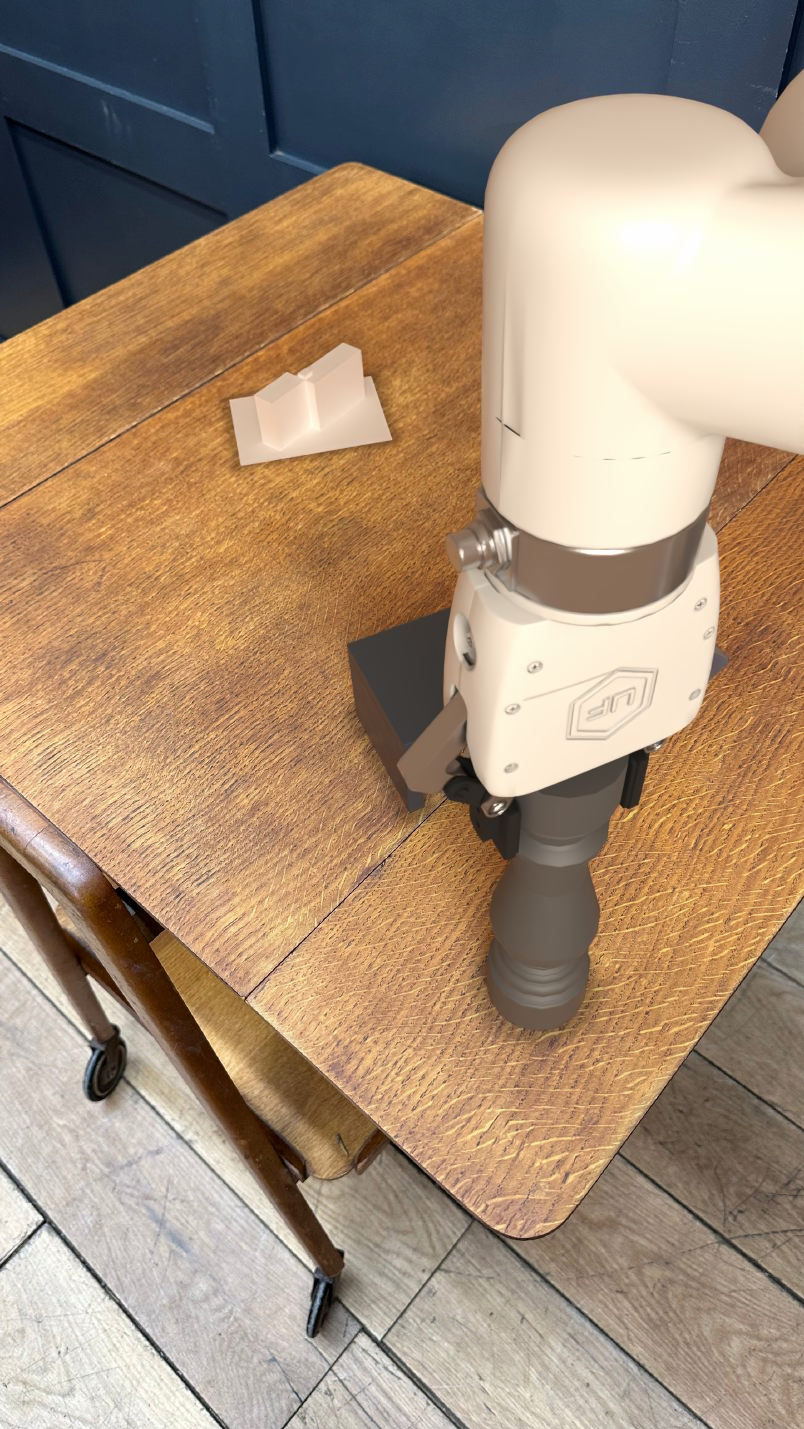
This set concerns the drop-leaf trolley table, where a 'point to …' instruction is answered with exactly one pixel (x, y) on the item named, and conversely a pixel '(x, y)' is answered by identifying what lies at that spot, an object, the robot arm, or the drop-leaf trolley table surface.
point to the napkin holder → (311, 411)
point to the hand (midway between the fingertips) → (556, 807)
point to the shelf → (400, 689)
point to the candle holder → (551, 899)
